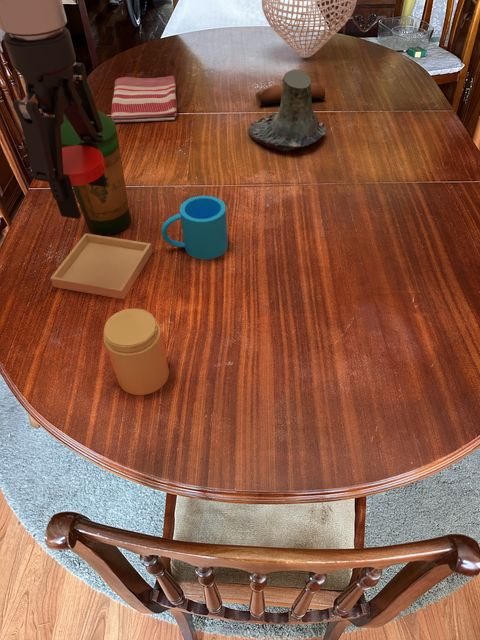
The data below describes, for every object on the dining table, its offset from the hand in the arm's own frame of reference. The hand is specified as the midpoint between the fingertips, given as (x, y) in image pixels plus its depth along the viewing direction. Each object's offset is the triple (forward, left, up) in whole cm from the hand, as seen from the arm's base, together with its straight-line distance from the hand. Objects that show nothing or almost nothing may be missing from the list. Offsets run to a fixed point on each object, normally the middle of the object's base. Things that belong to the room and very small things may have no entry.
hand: (85, 199), depth 77 cm
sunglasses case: (+16, +81, -17) cm, 84 cm away
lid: (0, 0, +6) cm, 6 cm away
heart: (+15, +112, -17) cm, 114 cm away
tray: (-2, +3, -16) cm, 17 cm away
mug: (+12, +13, -17) cm, 24 cm away
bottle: (-7, +16, -17) cm, 24 cm away
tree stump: (+20, +60, -17) cm, 65 cm away
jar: (+14, -18, -16) cm, 28 cm away
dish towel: (-21, +69, -17) cm, 74 cm away
